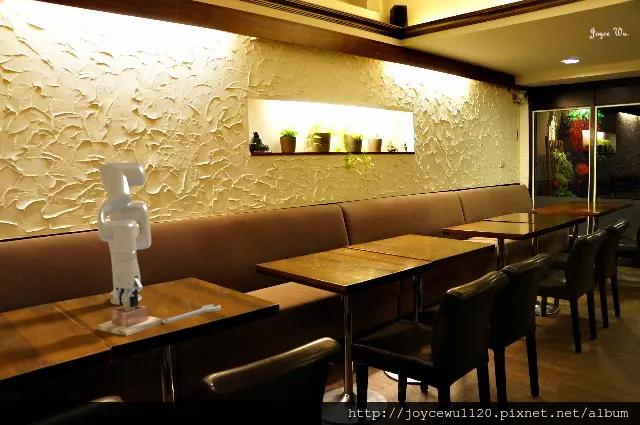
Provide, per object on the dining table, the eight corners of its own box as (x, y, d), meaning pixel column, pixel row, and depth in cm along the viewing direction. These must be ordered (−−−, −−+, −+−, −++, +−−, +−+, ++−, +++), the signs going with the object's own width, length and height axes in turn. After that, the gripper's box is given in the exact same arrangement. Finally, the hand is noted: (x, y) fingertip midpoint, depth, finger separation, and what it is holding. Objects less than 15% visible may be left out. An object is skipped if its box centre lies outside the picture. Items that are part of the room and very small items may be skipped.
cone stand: (97, 329, 185) (96, 311, 184) (133, 316, 198) (132, 300, 198) (126, 336, 177) (125, 317, 176) (162, 322, 190) (161, 305, 190)
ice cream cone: (125, 320, 190) (122, 280, 188) (139, 319, 190) (136, 280, 188) (121, 324, 185) (118, 284, 183) (135, 323, 185) (132, 283, 183)
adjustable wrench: (164, 326, 188) (164, 321, 188) (157, 322, 193) (156, 317, 193) (223, 310, 205) (222, 305, 205) (214, 307, 210) (214, 302, 210)
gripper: (101, 256, 186) (105, 305, 188) (132, 260, 177) (136, 311, 179) (118, 253, 192) (122, 300, 194) (150, 256, 184) (153, 305, 186)
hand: (129, 304), depth 187 cm, fingers closed on ice cream cone, 5 cm apart
